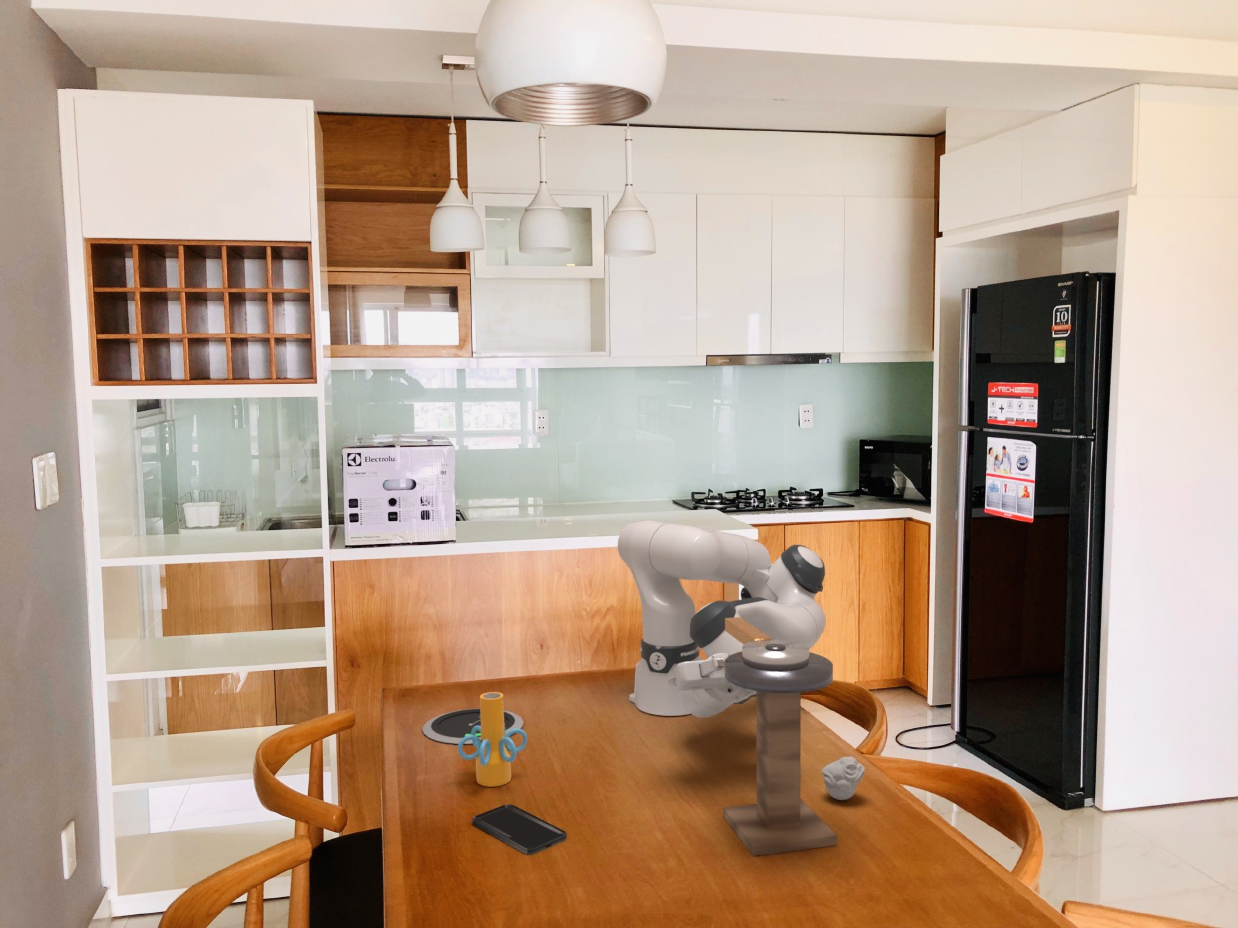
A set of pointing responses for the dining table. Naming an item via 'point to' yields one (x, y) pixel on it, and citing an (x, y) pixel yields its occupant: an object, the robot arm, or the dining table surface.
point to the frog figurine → (843, 777)
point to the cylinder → (492, 743)
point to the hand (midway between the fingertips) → (746, 660)
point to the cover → (766, 648)
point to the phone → (519, 829)
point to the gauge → (463, 726)
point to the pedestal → (779, 760)
